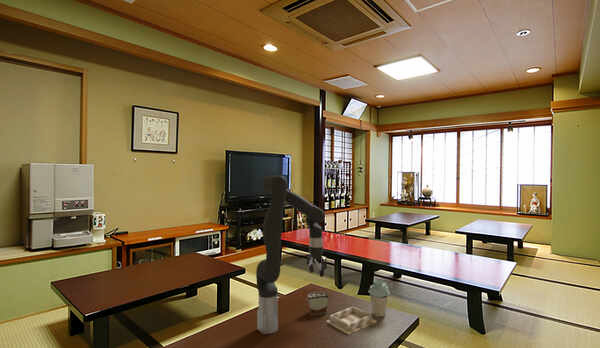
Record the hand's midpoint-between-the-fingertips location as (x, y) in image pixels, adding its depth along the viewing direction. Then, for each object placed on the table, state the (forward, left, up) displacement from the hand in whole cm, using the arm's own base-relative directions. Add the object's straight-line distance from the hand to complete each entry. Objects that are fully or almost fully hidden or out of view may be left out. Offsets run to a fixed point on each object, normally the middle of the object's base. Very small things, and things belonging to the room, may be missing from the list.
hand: (316, 274), depth 171 cm
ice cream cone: (+24, -23, -21) cm, 39 cm away
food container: (0, 0, -21) cm, 21 cm away
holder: (+6, -20, -20) cm, 29 cm away
